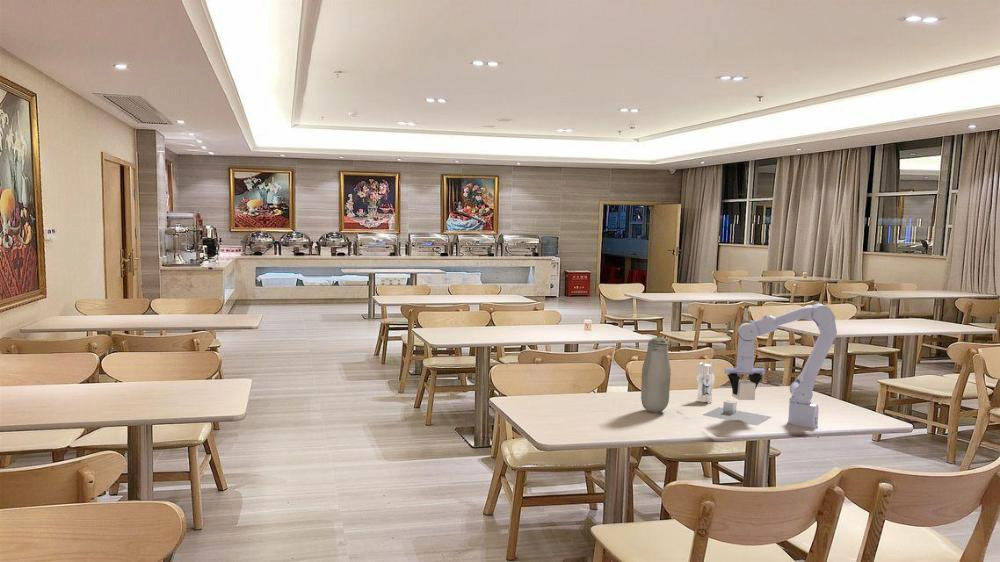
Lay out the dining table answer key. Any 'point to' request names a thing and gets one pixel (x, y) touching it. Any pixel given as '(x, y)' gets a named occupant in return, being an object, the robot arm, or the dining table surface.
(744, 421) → the duct panel
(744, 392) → the collar
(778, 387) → the dining table surface
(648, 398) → the grey bottle
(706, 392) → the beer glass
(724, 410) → the duct stub
